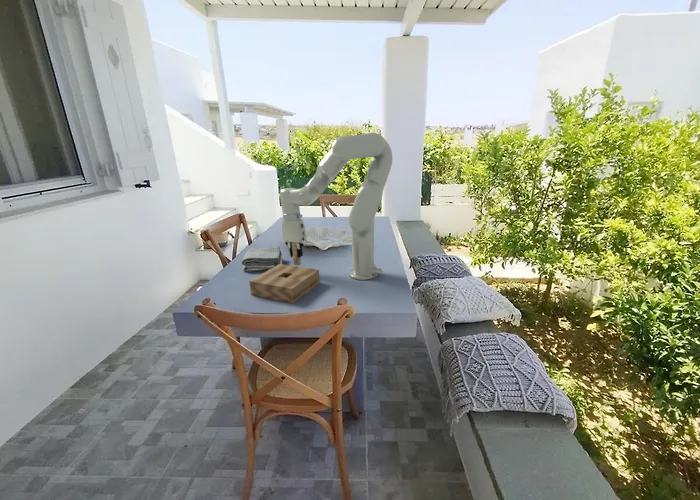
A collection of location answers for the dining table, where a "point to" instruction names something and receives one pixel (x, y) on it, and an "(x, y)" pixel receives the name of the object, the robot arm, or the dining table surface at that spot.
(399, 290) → the dining table surface
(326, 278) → the dining table surface
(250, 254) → the towel
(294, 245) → the peg
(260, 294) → the bore block
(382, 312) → the dining table surface
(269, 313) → the dining table surface
